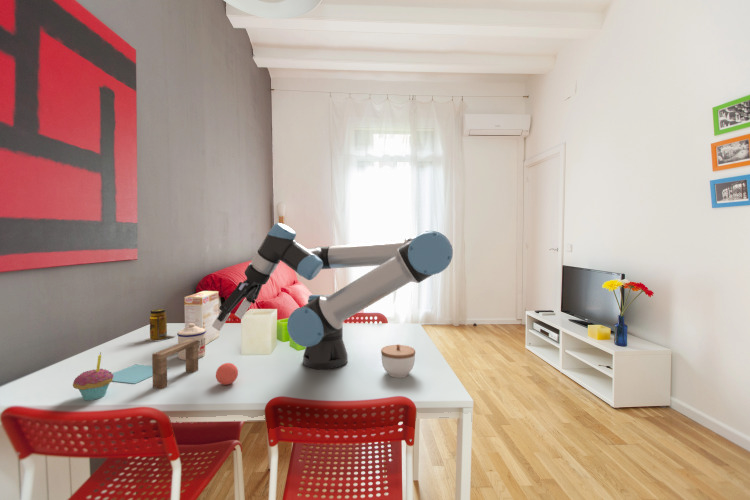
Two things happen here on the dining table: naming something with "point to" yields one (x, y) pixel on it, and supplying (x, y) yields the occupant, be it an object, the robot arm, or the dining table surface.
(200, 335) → the teacup with lid
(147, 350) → the dining table surface
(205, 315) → the coffeecake box
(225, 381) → the ball
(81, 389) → the cupcake
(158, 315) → the condiment
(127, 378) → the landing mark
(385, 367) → the lidded jar
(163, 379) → the bridge
